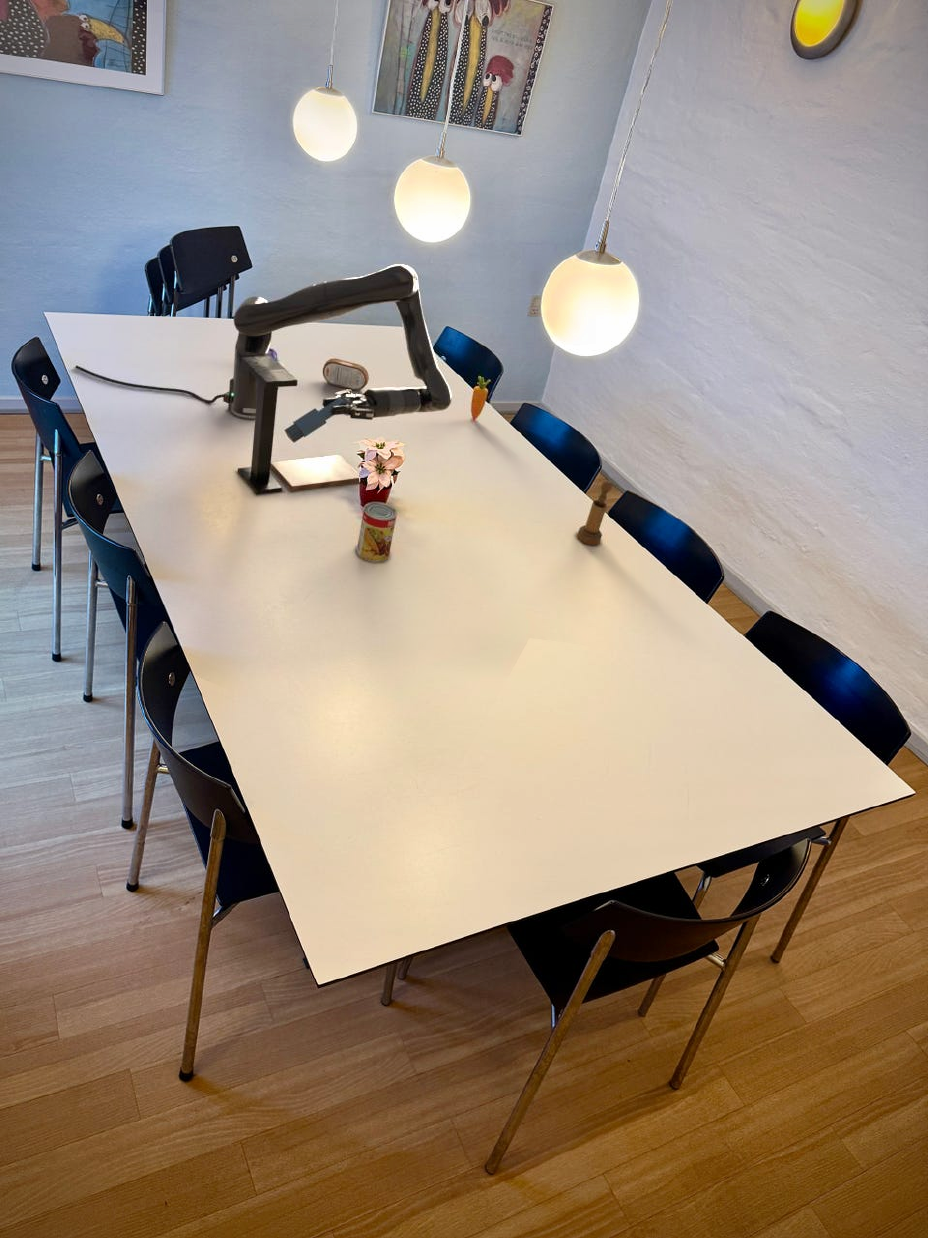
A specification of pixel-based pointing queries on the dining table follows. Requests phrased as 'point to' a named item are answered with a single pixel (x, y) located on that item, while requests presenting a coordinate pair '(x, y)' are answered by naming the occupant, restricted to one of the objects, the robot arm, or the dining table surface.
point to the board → (315, 472)
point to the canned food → (376, 531)
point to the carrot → (479, 398)
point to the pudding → (275, 356)
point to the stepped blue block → (313, 420)
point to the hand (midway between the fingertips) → (327, 406)
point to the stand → (264, 421)
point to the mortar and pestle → (595, 518)
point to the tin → (345, 374)
